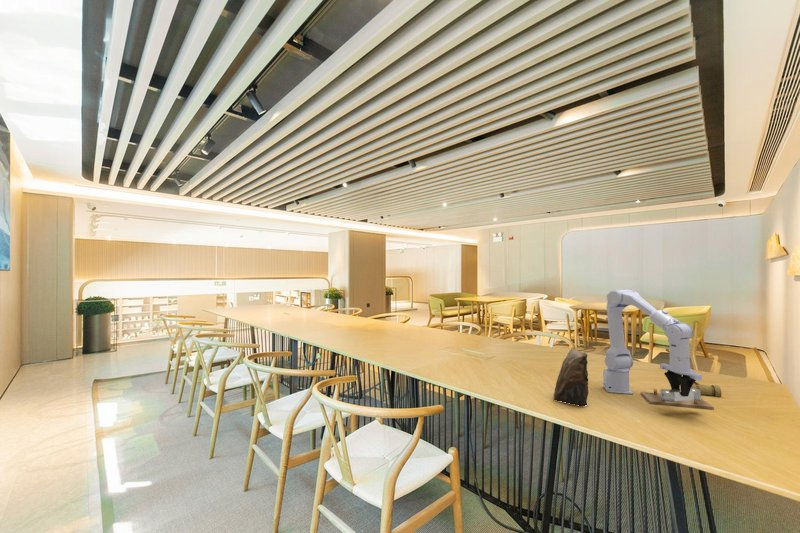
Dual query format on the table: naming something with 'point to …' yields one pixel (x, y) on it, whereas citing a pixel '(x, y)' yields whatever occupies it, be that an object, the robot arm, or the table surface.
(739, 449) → the table surface
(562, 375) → the dark brown rock
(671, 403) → the board
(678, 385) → the robot arm
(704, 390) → the gavel
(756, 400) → the table surface
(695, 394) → the silver ball-ended bar
